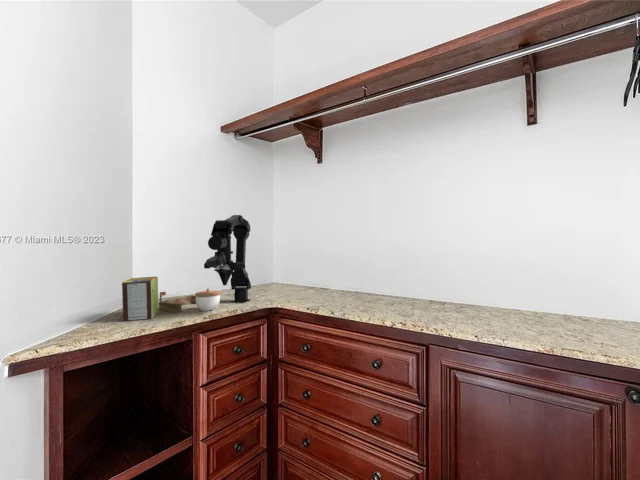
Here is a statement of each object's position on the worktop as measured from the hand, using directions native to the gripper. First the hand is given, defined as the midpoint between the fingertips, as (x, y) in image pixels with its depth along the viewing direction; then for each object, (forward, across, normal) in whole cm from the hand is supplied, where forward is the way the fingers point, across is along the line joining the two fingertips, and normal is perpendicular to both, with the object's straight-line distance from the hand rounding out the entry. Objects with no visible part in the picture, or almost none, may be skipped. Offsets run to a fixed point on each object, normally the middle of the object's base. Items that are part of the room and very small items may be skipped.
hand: (224, 285), depth 141 cm
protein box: (+12, -27, -20) cm, 36 cm away
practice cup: (+11, -24, 0) cm, 26 cm away
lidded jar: (+12, -10, 0) cm, 15 cm away
